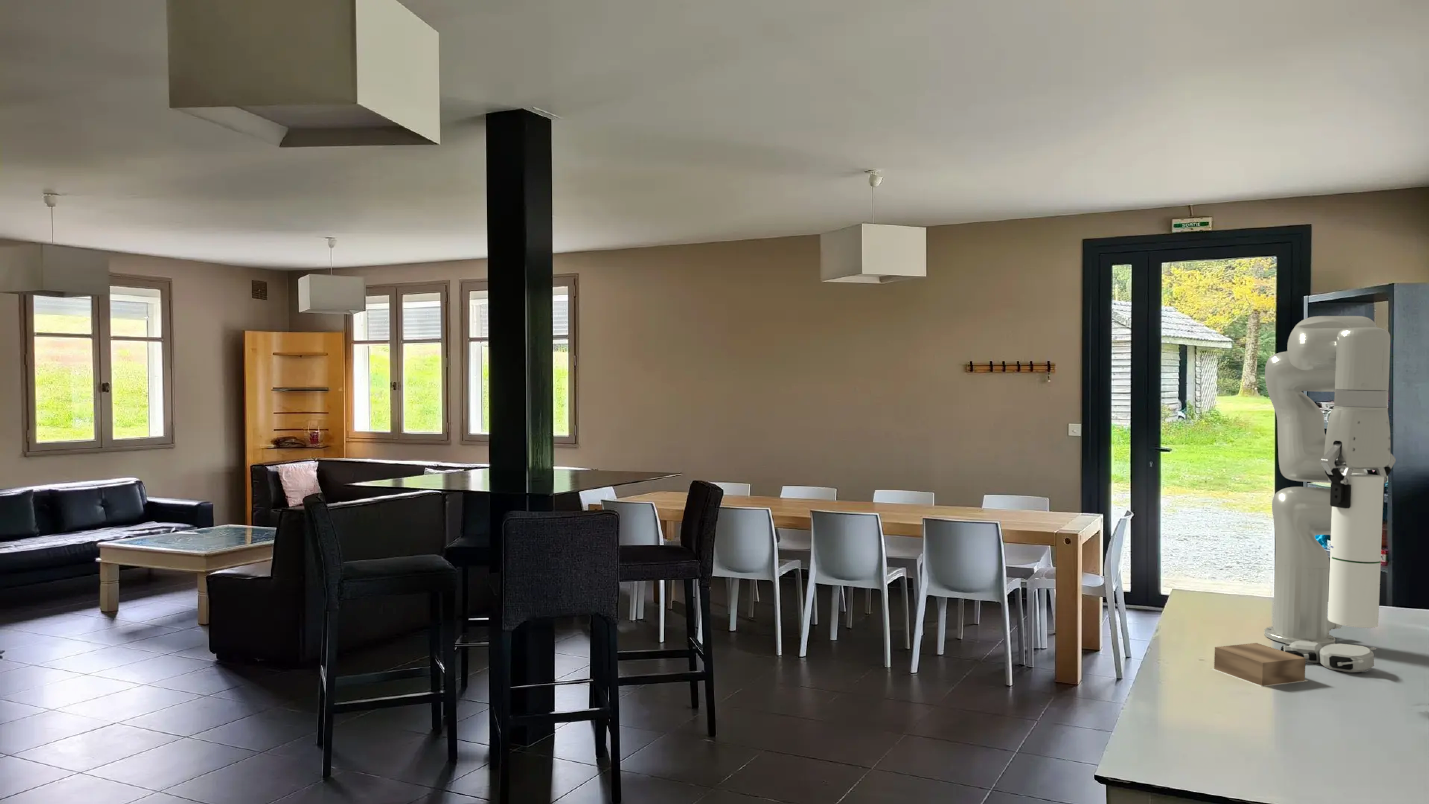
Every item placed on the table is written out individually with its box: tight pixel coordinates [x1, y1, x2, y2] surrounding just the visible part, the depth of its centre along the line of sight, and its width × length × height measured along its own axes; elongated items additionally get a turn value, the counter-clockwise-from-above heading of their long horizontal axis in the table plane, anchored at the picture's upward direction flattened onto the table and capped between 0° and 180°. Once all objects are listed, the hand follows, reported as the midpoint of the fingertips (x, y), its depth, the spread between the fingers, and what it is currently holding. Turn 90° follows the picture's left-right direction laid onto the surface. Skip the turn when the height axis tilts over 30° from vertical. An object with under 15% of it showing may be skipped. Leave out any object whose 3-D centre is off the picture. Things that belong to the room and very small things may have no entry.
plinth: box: [1213, 642, 1306, 687], centre depth 173 cm, size 10×10×4 cm
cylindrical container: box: [1327, 473, 1384, 629], centre depth 164 cm, size 7×7×25 cm
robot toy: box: [1280, 641, 1377, 673], centre depth 181 cm, size 12×4×15 cm
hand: (1356, 505), depth 163 cm, fingers closed on cylindrical container, 7 cm apart
